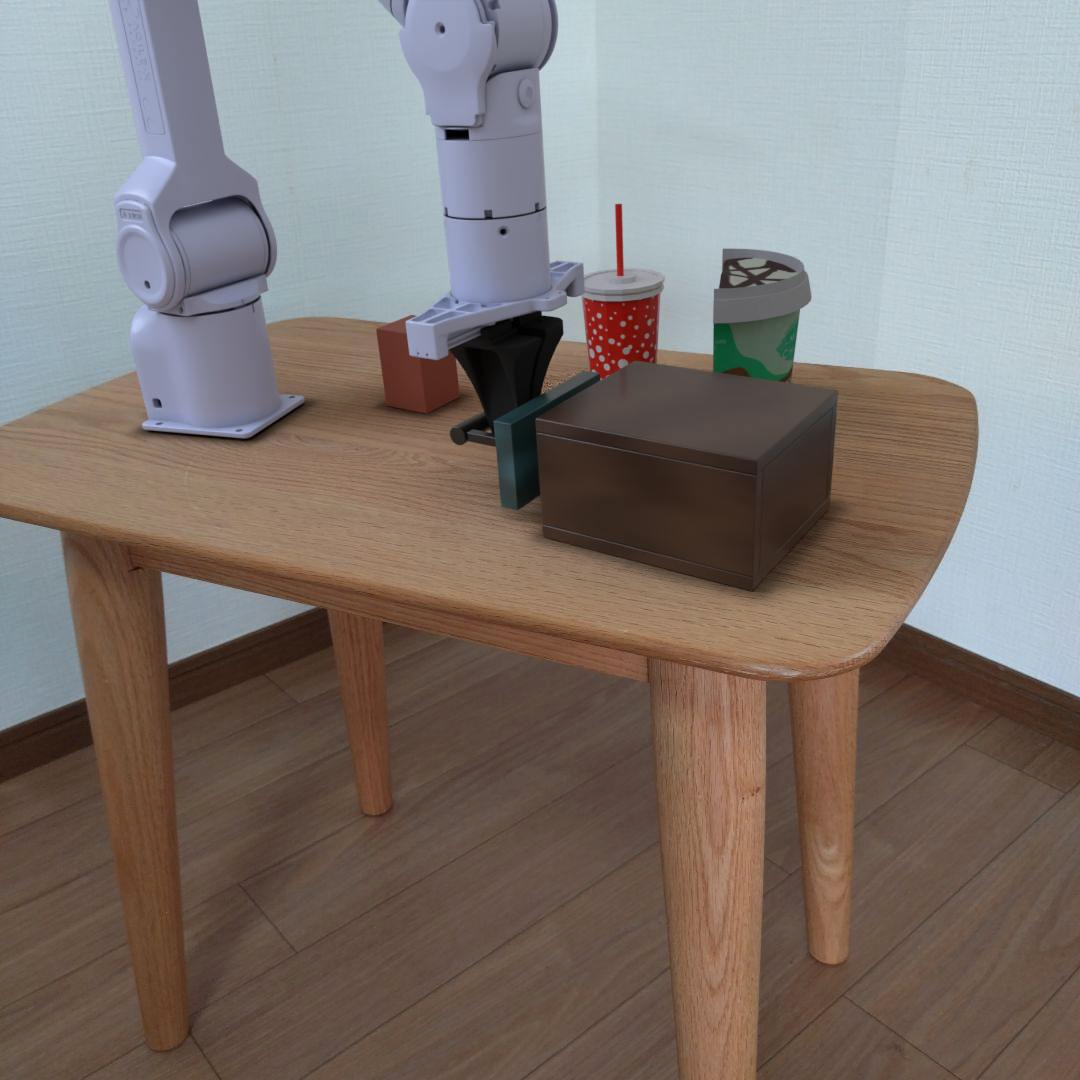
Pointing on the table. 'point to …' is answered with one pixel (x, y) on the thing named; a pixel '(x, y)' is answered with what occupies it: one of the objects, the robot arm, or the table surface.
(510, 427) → the drawer
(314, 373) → the table surface
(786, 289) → the food container
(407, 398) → the block
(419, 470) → the table surface
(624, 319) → the beverage cup
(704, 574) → the cabinet
